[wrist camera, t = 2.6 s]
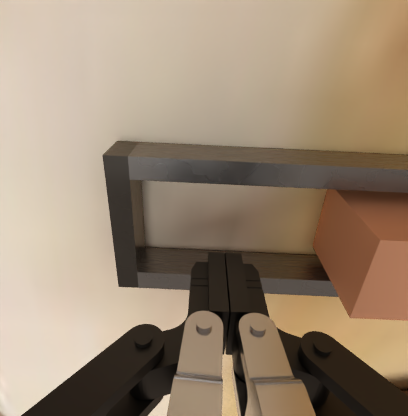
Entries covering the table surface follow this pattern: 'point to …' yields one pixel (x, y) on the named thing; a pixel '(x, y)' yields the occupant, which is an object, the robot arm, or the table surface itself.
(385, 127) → the table surface
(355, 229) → the block
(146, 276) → the rectangular frame
